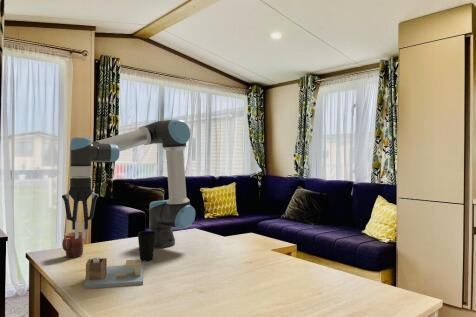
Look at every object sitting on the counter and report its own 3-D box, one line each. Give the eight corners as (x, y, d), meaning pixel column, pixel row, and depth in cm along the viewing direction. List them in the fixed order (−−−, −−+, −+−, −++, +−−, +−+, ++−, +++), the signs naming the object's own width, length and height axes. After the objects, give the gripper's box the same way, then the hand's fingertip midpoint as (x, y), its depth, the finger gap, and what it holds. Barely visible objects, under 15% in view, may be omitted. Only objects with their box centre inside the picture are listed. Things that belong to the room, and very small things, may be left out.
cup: (157, 257, 164) (157, 231, 164) (151, 262, 156) (152, 234, 156) (141, 256, 165) (141, 230, 165) (134, 261, 157) (135, 234, 157)
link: (92, 267, 144) (92, 252, 144) (109, 266, 146) (109, 251, 146) (85, 280, 129) (85, 263, 129) (104, 279, 131) (104, 262, 131)
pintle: (99, 276, 134) (99, 257, 134) (98, 278, 132) (99, 259, 132) (93, 276, 134) (93, 257, 134) (92, 278, 131) (92, 259, 131)
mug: (72, 252, 170) (72, 231, 170) (88, 254, 168) (88, 232, 168) (54, 260, 158) (54, 236, 158) (72, 261, 156) (72, 238, 156)
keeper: (140, 270, 141) (141, 259, 141) (140, 277, 133) (140, 265, 133) (118, 272, 139) (118, 260, 139) (116, 278, 131) (116, 266, 131)
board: (143, 266, 150) (143, 264, 150) (143, 284, 129) (143, 281, 129) (92, 270, 145) (92, 267, 145) (83, 288, 124) (83, 285, 124)
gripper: (102, 176, 144) (101, 234, 144) (62, 176, 141) (61, 236, 141) (99, 177, 137) (99, 239, 137) (57, 177, 133) (56, 240, 133)
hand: (80, 237), depth 139 cm, fingers closed
